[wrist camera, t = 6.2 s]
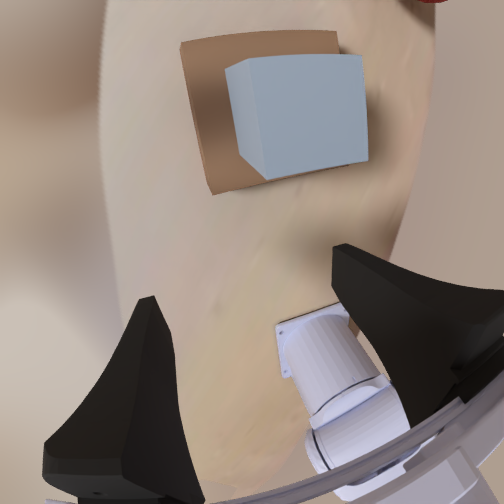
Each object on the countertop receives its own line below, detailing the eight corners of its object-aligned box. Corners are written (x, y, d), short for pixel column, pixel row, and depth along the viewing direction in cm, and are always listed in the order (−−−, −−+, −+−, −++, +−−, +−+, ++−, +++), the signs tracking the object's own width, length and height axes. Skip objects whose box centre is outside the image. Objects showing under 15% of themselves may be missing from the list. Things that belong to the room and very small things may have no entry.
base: (326, 154, 20) (348, 165, 18) (206, 180, 19) (212, 195, 17) (313, 37, 15) (336, 31, 13) (179, 50, 14) (181, 42, 12)
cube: (319, 140, 16) (368, 160, 12) (239, 154, 16) (266, 180, 12) (310, 60, 14) (361, 55, 10) (224, 69, 13) (248, 58, 9)
